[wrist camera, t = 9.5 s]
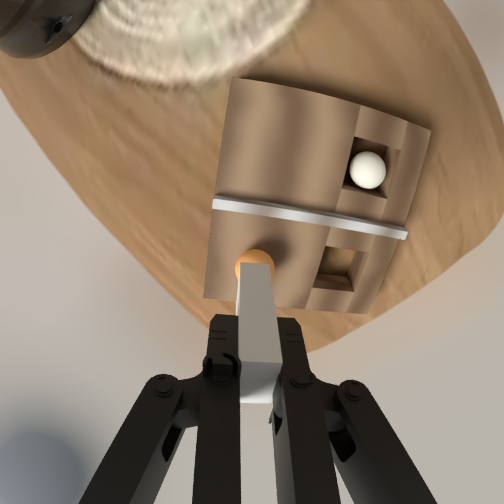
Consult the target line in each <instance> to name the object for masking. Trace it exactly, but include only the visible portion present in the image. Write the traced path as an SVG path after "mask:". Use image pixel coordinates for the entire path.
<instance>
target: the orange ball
mask: <svg viewBox="0 0 504 504" xmlns="http://www.w3.org/2000/svg"><path fill="white" fill-rule="evenodd" d="M240 262H249V263H261V264H269V266H270V273H271V280H272V278H273V276H274V272H275V266H274V262H273V260H272V258H271V257H270V256H269V255H268V254H267V253H266V252H264V251H262V250H258V249H252V250H248V251H246V252H244V253H243V254H242V255H241V256H240V257H239V258H238V260H237V262H236V265H235V273H236V276H237V278H238V280H239V270H240Z"/></svg>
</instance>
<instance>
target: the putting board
mask: <svg viewBox="0 0 504 504" xmlns="http://www.w3.org/2000/svg"><path fill="white" fill-rule="evenodd" d="M430 135H431V131H430V130H428V129H425V128H423V127H421V126H418V125H416V124H413V123H411V122H408V121H406V120H403V119H400V118H398V117H395V116H392V115H389V114H387V113H384V112H381V111H378V110H375V109H372V108H369V107H366V106H363V105H359V104H356V103H353V102H349V101H346V100H342V99H339V98H335V97H331V96H328V95H324V94H320V93H316V92H311V91H307V90H303V89H298V88H293V87H289V86H284V85H278V84H273V83H267V82H261V81H255V80H248V79H241V78H234V77H232V80H231V86H230V92H229V98H228V104H227V110H226V117H225V123H224V130H223V136H222V143H221V150H220V157H219V164H218V172H217V179H216V187H215V195H214V198H213V205H212V209H213V211H212V220H211V228H210V237H209V246H208V256H207V266H206V276H205V287H204V298H209V299H216V300H224V301H232V302H236V300H237V290H238V278H237V276H236V273H235V265H236V262H237V260H238V258H239V257H240V256H241V255H242V254H243V253H244V252H246V251H248V250H252V249H258V250H262V251H264V252H266V253H267V254H268V255H269V256H270V257H271V258H272V260H273V262H274V266H275V272H274V276H273V278H272V287H273V294H274V302H275V306H276V307H286V308H296V309H307V310H319V311H331V312H344V313H358V314H368V312H369V310H370V308H371V305H372V303H373V301H374V299H375V297H376V294H377V292H378V290H379V288H380V285H381V283H382V281H383V278H384V276H385V273H386V271H387V269H388V266H389V264H390V261H391V259H392V256H393V254H394V251H395V249H396V246H397V243H398V241H399V239H402V240H405V239H406V236H407V233H408V232H407V231H406V230H405V229H404V228H403V227H404V224H405V221H406V218H407V215H408V212H409V209H410V206H411V203H412V200H413V197H414V194H415V191H416V187H417V184H418V181H419V177H420V174H421V170H422V167H423V163H424V159H425V155H426V151H427V147H428V143H429V139H430ZM354 136H355V137H359V138H363V139H366V140H369V141H373V142H376V143H379V144H383V145H386V150H385V154H384V158H383V162H384V164H385V167H386V175H385V178H384V180H383V182H382V183H381V184H380V185H379V186H377V187H375V189H367V188H362V187H360V186H358V185H354V184H350V183H345V182H343V180H344V176H345V172H346V168H347V164H348V160H349V156H350V152H351V148H352V143H353V139H354ZM325 246H330V247H336V248H343V249H349V250H356V251H355V254H354V257H353V260H352V262H351V265H350V268H349V271H348V273H347V276H338V275H330V274H322V273H317V271H318V268H319V265H320V262H321V258H322V255H323V252H324V249H325Z"/></svg>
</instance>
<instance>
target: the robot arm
mask: <svg viewBox="0 0 504 504" xmlns="http://www.w3.org/2000/svg"><path fill="white" fill-rule="evenodd" d="M94 2H95V0H0V50H1V51H3V52H4V53H6V54H8V55H9V56H12V57H15V58H23V59H34V58H39V57H42V56H44V55H47V54H49V53H50V52H52V51H54V50H55V49H57V48H58V47H60V46H61V45H62V44H63V43H64V42H66V41H67V40H68V39H69V38H70V37H71V36H72V35H73V34H74V33H75V32H76V30H77V29H78V28H79V27H80V25H81V24H82V23H83V21H84V20H85V18H86V17H87V15H88V14H89V12H90V10H91V8H92V6H93V4H94ZM272 398H273V409H272V412H271V415H270V418H269V423H271V422H272V430H273V444H274V458H275V471H276V486H277V501H278V504H341V501H340V495H339V489H338V484H337V478H336V472H335V467H334V463H335V465H336V467H337V469H338V471H339V473H340V475H341V477H342V479H343V481H344V483H345V485H346V488H347V489H348V492H349V494H350V495H351V498H352V500H353V502H354V504H437V502H436V501H435V499H434V497H433V495H432V494H431V492H430V490H429V489H428V487H427V485H426V483H425V482H424V480H423V478H422V477H421V475H420V473H419V471H418V470H417V468H416V466H415V465H414V463H413V461H412V460H411V458H410V457H409V455H408V453H407V451H406V450H405V448H404V446H403V445H402V443H401V441H400V440H399V438H398V437H397V435H396V433H395V432H394V430H393V429H392V427H391V425H390V423H389V422H388V420H387V419H386V417H385V415H384V414H383V412H382V411H381V409H380V407H379V406H378V404H377V402H376V401H375V399H374V398H373V396H372V395H371V393H370V391H369V390H368V388H367V387H366V386H365V385H364V384H363V383H361V382H359V381H356V380H346V381H344V382H342V383H341V384H340V385H339V386H338V385H334V384H330V383H326V382H323V381H321V380H319V379H317V378H316V376H315V375H314V374H313V373H312V372H311V370H310V368H309V363H308V358H307V353H306V349H305V344H304V339H303V336H302V330H301V326H300V325H299V323H298V322H297V321H296V319H295V318H282V317H277V316H276V309H275V302H274V294H273V287H272V280H271V273H270V266H269V264H261V263H249V262H240V270H239V280H238V290H237V300H236V315H223V314H216V315H215V316H214V317H213V319H212V320H211V321H210V329H209V338H208V346H207V355H206V356H205V358H204V360H203V371H202V372H201V373H200V374H199V375H197V376H195V377H193V378H189V379H183V380H178V379H177V378H175V377H174V376H172V375H167V374H160V375H156V376H154V377H152V378H150V379H149V380H148V382H147V383H146V385H145V386H144V388H143V390H142V391H141V393H140V395H139V396H138V398H137V400H136V402H135V403H134V405H133V407H132V409H131V410H130V412H129V414H128V416H127V417H126V419H125V421H124V422H123V424H122V426H121V428H120V430H119V431H118V433H117V435H116V437H115V438H114V440H113V442H112V444H111V446H110V447H109V449H108V451H107V453H106V454H105V456H104V458H103V460H102V462H101V463H100V465H99V467H98V469H97V471H96V472H95V474H94V476H93V478H92V480H91V482H90V483H89V485H88V487H87V489H86V491H85V493H84V495H83V496H82V498H81V500H80V502H79V504H153V503H154V501H155V499H156V496H157V494H158V491H159V489H160V487H161V484H162V482H163V480H164V478H165V475H166V473H167V471H168V469H169V466H170V464H171V461H172V459H173V457H174V455H175V452H176V450H177V448H178V445H179V443H180V441H181V438H182V436H183V434H184V431H185V429H186V428H189V427H194V426H198V431H197V443H196V455H195V468H194V482H193V497H192V504H241V465H240V464H241V463H240V402H241V403H271V401H272Z"/></svg>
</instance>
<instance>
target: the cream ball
mask: <svg viewBox="0 0 504 504" xmlns="http://www.w3.org/2000/svg"><path fill="white" fill-rule="evenodd" d="M349 171H350V175H351V178H352V180H353V181H354V182H355V183H356V184H357V185H358V186H360V187H362V188H367V189H371V188H375V187H377V186H379V185H380V184H381V183H382V182H383V180H384V178H385V175H386V167H385V164H384V162H383V160H382V159H381V158H380V157H379V156H378V155H377V154H375V153H373V152H368V151H365V152H361V153H358V154H357V155H356V156H354V158H353V159H352V161H351V163H350V167H349Z"/></svg>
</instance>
